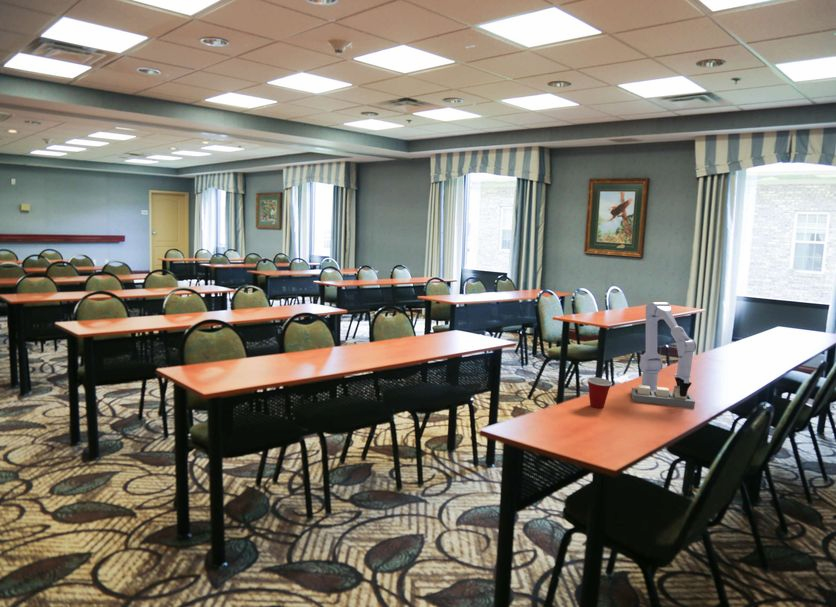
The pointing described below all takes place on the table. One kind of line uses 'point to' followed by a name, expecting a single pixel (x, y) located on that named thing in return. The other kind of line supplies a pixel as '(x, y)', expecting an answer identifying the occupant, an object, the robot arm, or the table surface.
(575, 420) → the table surface
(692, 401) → the puzzle board
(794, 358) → the table surface
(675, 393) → the loose block
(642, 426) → the table surface
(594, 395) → the plastic cup
